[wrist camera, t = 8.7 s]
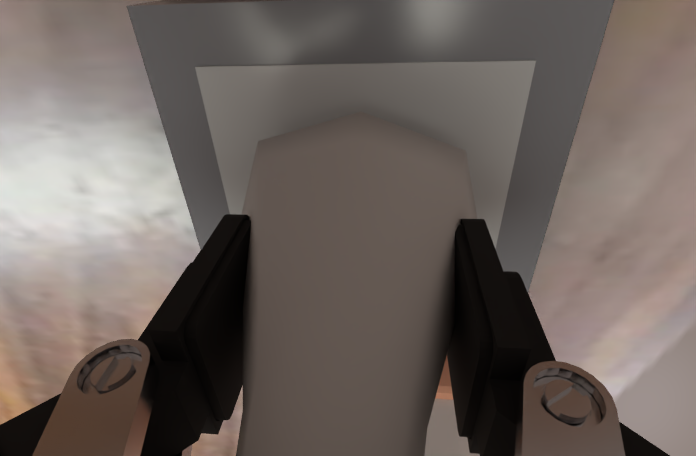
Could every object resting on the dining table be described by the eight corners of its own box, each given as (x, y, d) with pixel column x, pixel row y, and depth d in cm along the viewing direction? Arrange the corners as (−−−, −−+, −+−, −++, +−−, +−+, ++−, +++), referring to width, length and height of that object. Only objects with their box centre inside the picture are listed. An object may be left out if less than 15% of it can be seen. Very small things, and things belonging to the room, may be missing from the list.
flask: (508, 113, 10) (1176, 974, 1) (458, 318, 14) (558, 851, 6) (222, 102, 10) (-492, 691, 2) (256, 303, 14) (68, 771, 6)
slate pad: (163, 0, 12) (124, 6, 10) (582, -15, 11) (619, -11, 9) (239, 294, 18) (223, 328, 17) (502, 304, 17) (514, 341, 16)
